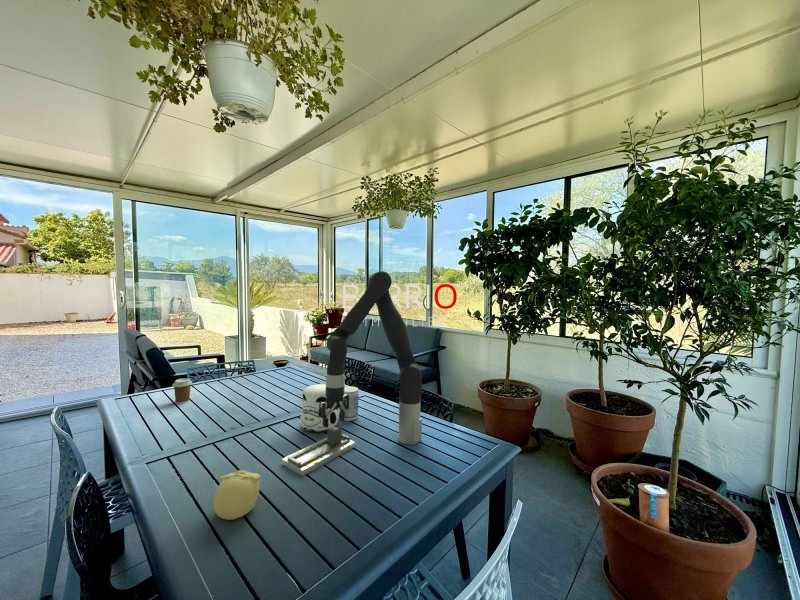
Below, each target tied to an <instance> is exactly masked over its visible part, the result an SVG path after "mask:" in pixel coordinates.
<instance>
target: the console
mask: <svg viewBox="0 0 800 600" xmlns="http://www.w3.org/2000/svg"><path fill="white" fill-rule="evenodd" d="M355 447H356V441H354V440H351V437H350V436H348V435H346V434H343V433H342V434H341V442H340V443H338V444H336V445H334V446H332V445H330V444H328V443H327V437H325V438H323V439H321V440H319V441H317V442H315V443H313V444H310V445H308V446H306V447H304V448H302V449H299V450H298V451H295V452H294V453H291V454H290V455H287V456H285V457H284V458H281V465H283V466H285V467H286V468H288V469H289V470H292V471H293V472H295V473H296V474H298V475H300V476H301V477H303V476H306V475H308V474H309V473H310V472H312V471H314V470H316V469H318V468H320V467H321V466H323V465H326V464H327V463H328V462H331V461H333V460H335V459H336V458H338V457H339V456H342V455H344V453H347V452H348V451H350V450H352V449H354V448H355Z"/></svg>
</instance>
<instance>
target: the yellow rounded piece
mask: <svg viewBox="0 0 800 600" xmlns="http://www.w3.org/2000/svg"><path fill="white" fill-rule="evenodd" d="M261 478H262V476H261V474H259V473H256V472H249V471H247V470H245V469H239V470H237V471H235V472H232V473H228V474H225V475H222V476H221V477H220V483H219V485H218V486H217V488H216V490H215V493H214V497H213V502H212V503H213V509H214V512H215V514H216V515H217V516H218V517H219V518H221V519H223V520H228V521H231V520H237V519H239V518H242V517H243V516H245V515H247V514H248V513H249V512H250V511H251V510H252V509H253V508H254V506H255V505H256V503H257V500H258V497H259V494H260V489H261Z"/></svg>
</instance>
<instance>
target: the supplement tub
mask: <svg viewBox="0 0 800 600" xmlns="http://www.w3.org/2000/svg"><path fill="white" fill-rule="evenodd" d="M344 394H346V395H349V409H346V411H345V418H344V421H345V422H351V421H355V420H356V419H358V417H359V395H360V394H359V388H358V387H356V386H345V387H344ZM342 403H343V401H342ZM340 411H341V410H340V409H338V414H339V413H340ZM344 421H343V422H344Z"/></svg>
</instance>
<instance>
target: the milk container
mask: <svg viewBox="0 0 800 600" xmlns="http://www.w3.org/2000/svg"><path fill="white" fill-rule="evenodd" d="M326 399H327V398H326V383H325V384H324V383H319V384H312V385H308V386H306V387H304V389H303V391H302V410H301V413H300V424H301V427H302V428H303V429H304V430H305V431H307V432H311V433H317V432H318V433H321V432H327V429H328V428H330V427H333V426H337V424H338V422H339V409H335V410H333V411H332V413H331V414H330V415H329V417H328V418H329V419H328V427H327V428H326V427H324V426H323V418H321V417H319V416H318V415H319V403H320V402H326ZM328 410H330V409H329V408H328ZM327 413H328V412H327ZM327 413H326V415H327Z"/></svg>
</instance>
